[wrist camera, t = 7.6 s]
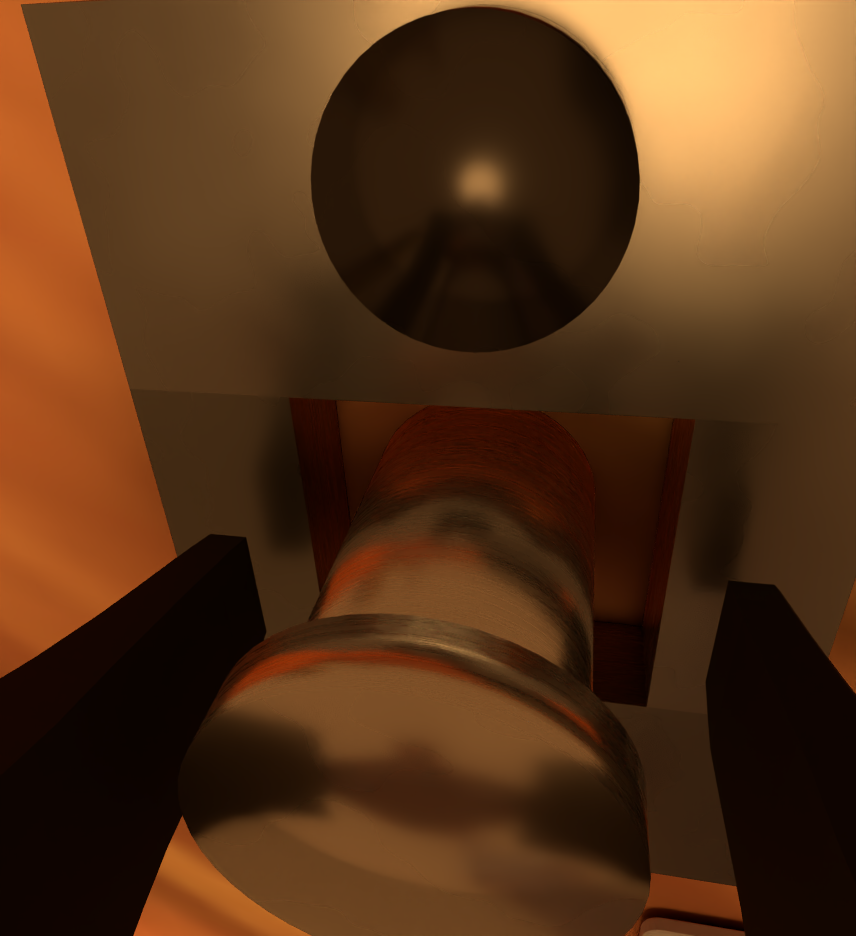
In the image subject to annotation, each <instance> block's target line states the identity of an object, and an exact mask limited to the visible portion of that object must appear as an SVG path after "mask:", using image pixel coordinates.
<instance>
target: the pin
mask: <svg viewBox="0 0 856 936" xmlns="http://www.w3.org/2000/svg"><path fill="white" fill-rule="evenodd" d="M594 546H595V484H594V477H593V474H592V470H591V467H590V464H589V462H588V460H587V458H586V456H585V454H584V452H583V451H582V449H581V448H580V446H579V445H578V443H577V442H576V441H575V440H574V438H573V437H572V436H571V435H570V434H569V433H568V432H567V431H566V430H565V429H564V428H563V427H562V426H561V425H559V424H558V423H557V422H556V421H554V420H553V419H551V418H550V417H548V416H547V415H545V414H544V413H542V412H540V411H531V410H512V409H494V408H475V407H457V406H438V405H431V406H428V407H427V408H425V409H423V410H421V411H419V412H417V413H416V414H415V415H413V416H412V417H411V418H409V419H408V420H407V421H406V422H405V423H404V424H403V425H402V426H401V427H400V428H399V429H398V430H397V431H396V432H395V434H394V435H393V436H392V438H391V439H390V441H389V443H388V445H387V447H386V449H385V451H384V453H383V455H382V458H381V460H380V462H379V464H378V466H377V469H376V471H375V473H374V475H373V477H372V480H371V482H370V484H369V486H368V488H367V491H366V493H365V495H364V497H363V500H362V502H361V504H360V506H359V508H358V511H357V513H356V515H355V517H354V519H353V522H352V524H351V526H350V528H349V530H348V533H347V535H346V537H345V539H344V541H343V544H342V546H341V548H340V550H339V552H338V555H337V557H336V559H335V561H334V564H333V566H332V568H331V570H330V572H329V575H328V577H327V579H326V581H325V583H324V586H323V588H322V590H321V592H320V594H319V597H318V599H317V601H316V603H315V605H314V608H313V610H312V612H311V614H310V616H309V619H308V621H307V622H306V623H303V624H299V625H295V626H293V627H291V628H288V629H286V630H284V631H281V632H279V633H276V634H274V635H272V636H270V637H269V638H267V639H266V640H264V641H262V642H261V643H259V644H258V645H256V646H254V647H253V648H252V649H251V650H250V651H249V652H247V653H246V654H245V655H244V656H243V657H242V658H241V659H240V660H239V661H238V662H237V663H236V664H235V666H234V667H233V669H232V670H231V671H230V673H229V674H228V675H227V677H226V679H225V681H224V682H223V684H222V686H221V688H220V690H219V692H218V694H217V696H216V698H215V699H214V701H213V703H212V705H211V707H210V709H209V711H208V713H207V714H206V716H205V718H204V720H203V722H202V724H201V726H200V728H199V729H198V731H197V733H196V735H195V737H194V739H193V741H192V743H191V745H190V746H189V748H188V750H187V753H186V755H185V757H184V759H183V762H182V764H181V768H180V773H179V778H178V795H179V802H180V806H181V810H182V814H183V817H184V820H185V822H186V824H187V827H188V829H189V831H190V833H191V835H192V837H193V838H194V840H195V841H196V843H197V845H198V846H199V848H200V849H201V851H202V852H203V853H204V855H205V856H206V857H207V858H208V860H209V861H210V862H211V863H212V864H213V866H214V867H215V868H216V869H217V870H218V871H219V872H220V873H221V874H222V875H223V876H224V877H225V878H226V879H227V880H228V881H229V882H230V883H231V884H233V885H234V886H235V887H236V888H237V889H239V890H240V891H241V892H242V893H243V894H245V895H246V896H247V897H248V898H250V899H251V900H252V901H254V902H255V903H257V904H258V905H260V906H261V907H262V908H264V909H265V910H267V911H268V912H270V913H272V914H273V915H275V916H277V917H278V918H280V919H282V920H283V921H285V922H287V923H288V924H290V925H292V926H294V927H296V928H298V929H300V930H302V931H304V932H306V933H308V934H310V935H312V936H624V935H625V934H626V933H627V932H628V931H629V930H630V929H631V928H632V927H633V926H634V924H635V923H636V921H637V920H638V918H639V917H640V915H641V914H642V912H643V910H644V907H645V904H646V902H647V899H648V896H649V889H650V880H651V872H650V854H649V835H648V816H647V797H646V785H645V777H644V770H643V767H642V764H641V761H640V758H639V755H638V752H637V749H636V747H635V746H634V744H633V742H632V740H631V738H630V736H629V735H628V733H627V731H626V729H625V728H624V727H623V725H622V724H621V723H620V721H619V720H618V719H617V718H616V716H615V715H614V714H613V712H612V711H611V710H610V709H609V708H608V707H607V706H606V705H605V704H604V703H603V702H602V701H601V700H600V699H599V698H598V697H597V696H596V695H595V694H594V693H593V620H594Z"/></svg>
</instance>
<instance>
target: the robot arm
mask: <svg viewBox="0 0 856 936" xmlns="http://www.w3.org/2000/svg"><path fill="white" fill-rule="evenodd" d="M266 632H267V631H266V626H265V622H264V617H263V612H262V608H261V603H260V599H259V594H258V589H257V585H256V580H255V575H254V571H253V566H252V562H251V557H250V552H249V548H248V543H247V539H246V537H240V536H229V535H218V534H209V535H208V536H206V537H205V538H203V539H202V540H200V541H199V542H198V543H196V544H195V545H193V546H192V547H190V548H189V549H188V550H186V551H185V552H184V553H182V554H181V555H180V556H178V557H177V558H175V559H174V560H173V561H171V562H170V563H169V564H167V565H166V566H165V567H163V568H162V569H161V570H159V571H158V572H157V573H155V574H154V575H153V576H151V577H150V578H148V579H147V580H146V581H144V582H143V583H142V584H140V585H139V586H138V587H136V588H135V589H133V590H132V591H131V592H129V593H128V594H127V595H125V596H124V597H122V598H121V599H120V600H118V601H117V602H116V603H114V604H113V605H111V606H110V607H109V608H107V609H106V610H105V611H103V612H102V613H100V614H99V615H98V616H96V617H95V618H93V619H92V620H90V621H89V622H87V623H86V624H84V625H83V626H81V627H80V628H78V629H77V630H75V631H74V632H72V633H71V634H69V635H68V636H66V637H65V638H63V639H62V640H60V641H59V642H57V643H56V644H54V645H53V646H51V647H50V648H48V649H47V650H45V651H44V652H42V653H41V654H39V655H38V656H36V657H35V658H33V659H31V660H30V661H28V662H27V663H25V664H23V665H22V666H20V667H18V668H17V669H15V670H13V671H12V672H10V673H8V674H7V675H5V676H4V677H2V678H0V936H133V935H134V932H135V930H136V927H137V924H138V921H139V919H140V916H141V913H142V911H143V908H144V905H145V903H146V900H147V898H148V895H149V893H150V890H151V888H152V885H153V883H154V880H155V878H156V875H157V873H158V870H159V868H160V865H161V863H162V860H163V857H164V855H165V852H166V850H167V847H168V845H169V843H170V841H171V839H172V836H173V834H174V832H175V830H176V828H177V826H178V823H179V821H180V819H181V817H182V815H183V814H182V810H181V806H180V802H179V795H178V778H179V773H180V768H181V764H182V762H183V759H184V757H185V755H186V753H187V750H188V748H189V746H190V745H191V743H192V741H193V739H194V737H195V735H196V733H197V731H198V729H199V728H200V726H201V724H202V722H203V720H204V718H205V716H206V714H207V713H208V711H209V709H210V707H211V705H212V703H213V701H214V699H215V698H216V696H217V694H218V692H219V690H220V688H221V686H222V684H223V682H224V681H225V679H226V677H227V675H228V674H229V673H230V671H231V670H232V669H233V667H234V666H235V664H236V663H237V662H238V661H239V660H240V659H241V658H242V657H243V656H244V655H245V654H246V653H247V652H249V651H250V650H251V649H252V648H253V647H254V646H256V645H258V644H259V643H261V642H262V641H264V638H265V635H266ZM705 683H706V698H707V714H708V728H709V740H710V751H711V756H712V762H713V767H714V772H715V778H716V783H717V788H718V793H719V799H720V804H721V809H722V814H723V819H724V824H725V829H726V834H727V840H728V845H729V850H730V855H731V860H732V865H733V870H734V875H735V880H736V886H737V891H738V896H739V901H740V906H741V912H742V918H743V925H744V931H745V932H744V931H738V930H732V929H727V928H721V927H715V926H709V925H703V924H697V923H691V922H685V921H679V920H673V919H668V918H660V917H654V918H649V919H647V920H645V921H644V922H643V923H642V925H641V928H640V933H639V936H856V694H855V693H854V691H853V690H852V689H851V687H850V686H849V685H848V684H847V682H846V681H845V680H844V679H843V677H842V676H841V675H840V673H839V672H838V671H837V669H836V668H835V667H834V665H833V664H832V663H831V661H830V660H829V659H828V657H827V656H826V655H825V653H824V652H823V650H822V649H821V648H820V646H819V645H818V644H817V642H816V641H815V640H814V638H813V637H812V635H811V634H810V633H809V631H808V630H807V628H806V627H805V626H804V624H803V623H802V621H801V620H800V618H799V617H798V616H797V614H796V613H795V611H794V610H793V608H792V607H791V605H790V604H789V603H788V601H787V600H786V598H785V597H784V595H783V594H782V593H781V591H780V590H779V589H778V588H777V587H776V586H775V585H772V584H761V583H750V582H739V581H728V584H727V588H726V593H725V597H724V602H723V606H722V610H721V615H720V619H719V624H718V628H717V633H716V637H715V641H714V646H713V650H712V655H711V659H710V664H709V668H708V672H707V677H706V681H705Z"/></svg>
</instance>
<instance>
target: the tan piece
mask: <svg viewBox="0 0 856 936" xmlns="http://www.w3.org/2000/svg"><path fill="white" fill-rule="evenodd" d="M21 7H22V10H23V14H24V18H25V21H26V25H27V28H28V32H29V35H30V39H31V42H32V46H33V49H34V53H35V56H36V60H37V63H38V67H39V70H40V74H41V77H42V81H43V85H44V88H45V92H46V95H47V99H48V102H49V106H50V109H51V113H52V116H53V120H54V123H55V127H56V130H57V134H58V137H59V141H60V144H61V148H62V151H63V155H64V159H65V162H66V166H67V169H68V173H69V176H70V180H71V183H72V187H73V190H74V194H75V197H76V201H77V204H78V208H79V211H80V215H81V218H82V222H83V226H84V229H85V233H86V236H87V240H88V243H89V247H90V250H91V254H92V257H93V261H94V264H95V268H96V271H97V275H98V278H99V282H100V285H101V289H102V292H103V296H104V300H105V303H106V307H107V310H108V314H109V317H110V321H111V324H112V328H113V331H114V335H115V338H116V342H117V345H118V349H119V352H120V356H121V359H122V363H123V367H124V370H125V374H126V377H127V381H128V384H129V388H130V391H131V395H132V398H133V402H134V405H135V409H136V412H137V416H138V419H139V423H140V426H141V430H142V433H143V437H144V441H145V444H146V448H147V451H148V455H149V458H150V462H151V465H152V469H153V472H154V476H155V479H156V483H157V486H158V490H159V493H160V497H161V500H162V504H163V508H164V511H165V515H166V518H167V522H168V525H169V529H170V532H171V536H172V539H173V543H174V546H175V550H176V553H177V557H178V556H180V555H181V554H182V553H184V552H185V551H186V550H188V549H189V548H190V547H192V546H193V545H195V544H196V543H198V542H199V541H200V540H202V539H203V538H205V537H206V536H208V535H209V534H218V535H229V536H240V537H246V539H247V543H248V548H249V552H250V557H251V562H252V566H253V571H254V575H255V580H256V585H257V589H258V594H259V599H260V603H261V608H262V612H263V617H264V622H265V626H266V631H267V632H266V635H265V638H264V640H266V639H267V638H269V637H270V636H272V635H274V634H276V633H279V632H281V631H284V630H286V629H288V628H291V627H293V626H295V625H299V624H303V623H306V622H307V621H308V619H309V616H310V614H311V612H312V610H313V608H314V605H315V603H316V601H317V599H318V597H319V594H320V592H321V590H322V588H323V586H324V583H325V581H326V579H327V577H328V575H329V572H330V570H331V568H332V566H333V564H334V561H335V559H336V557H337V555H338V552H339V550H340V548H341V546H342V544H343V541H344V539H345V537H346V535H347V533H348V530H349V528H350V526H351V524H350V516H349V508H348V500H347V491H346V483H345V475H344V467H343V459H342V450H341V442H340V434H339V426H338V417H337V409H336V401H335V400H346V401H364V402H383V403H401V404H420V405H438V406H457V407H475V408H494V409H512V410H531V411H549V412H568V413H586V414H605V415H624V416H642V417H661V418H673V425H672V432H671V438H670V445H669V452H668V458H667V465H666V471H665V478H664V485H663V491H662V498H661V504H660V511H659V518H658V524H657V531H656V537H655V544H654V551H653V557H652V564H651V570H650V577H649V584H648V590H647V597H646V603H645V610H644V617H643V623H642V626H632V625H623V624H613V623H603V622H593V693H594V694H595V695H596V696H597V697H598V698H599V699H600V700H601V701H602V702H603V703H604V704H605V705H606V706H607V707H608V708H609V709H610V710H611V711H612V712H613V714H614V715H615V716H616V718H617V719H618V720H619V721H620V723H621V724H622V725H623V727H624V728H625V729H626V731H627V733H628V735H629V736H630V738H631V740H632V742H633V744H634V746H635V747H636V749H637V752H638V755H639V758H640V761H641V764H642V767H643V770H644V777H645V785H646V797H647V816H648V835H649V854H650V872H651V873H656V874H663V875H669V876H675V877H681V878H688V879H694V880H700V881H707V882H713V883H719V884H725V885H732V886H736V880H735V875H734V870H733V865H732V860H731V855H730V850H729V845H728V840H727V834H726V829H725V824H724V819H723V814H722V809H721V804H720V799H719V793H718V788H717V783H716V778H715V772H714V767H713V762H712V756H711V751H710V740H709V728H708V714H707V698H706V683H705V681H706V677H707V672H708V668H709V664H710V659H711V655H712V650H713V646H714V641H715V637H716V633H717V628H718V624H719V619H720V615H721V610H722V606H723V602H724V597H725V593H726V588H727V584H728V581H739V582H750V583H761V584H772V585H775V586H776V587H777V588H778V589H779V590H780V591H781V593H782V594H783V595H784V597H785V598H786V600H787V601H788V603H789V604H790V605H791V607H792V608H793V610H794V611H795V613H796V614H797V616H798V617H799V618H800V620H801V621H802V623H803V624H804V626H805V627H806V628H807V630H808V631H809V633H810V634H811V635H812V637H813V638H814V640H815V641H816V642H817V644H818V645H819V646H820V648H821V649H822V650H823V652H824V653H825V655H826V656H827V657H829V654H830V651H831V648H832V645H833V642H834V639H835V636H836V633H837V630H838V628H839V625H840V622H841V619H842V616H843V613H844V610H845V607H846V604H847V601H848V598H849V596H850V593H851V590H852V587H853V584H854V581H855V578H856V0H86V1H70V2H53V3H37V4H21Z"/></svg>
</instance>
